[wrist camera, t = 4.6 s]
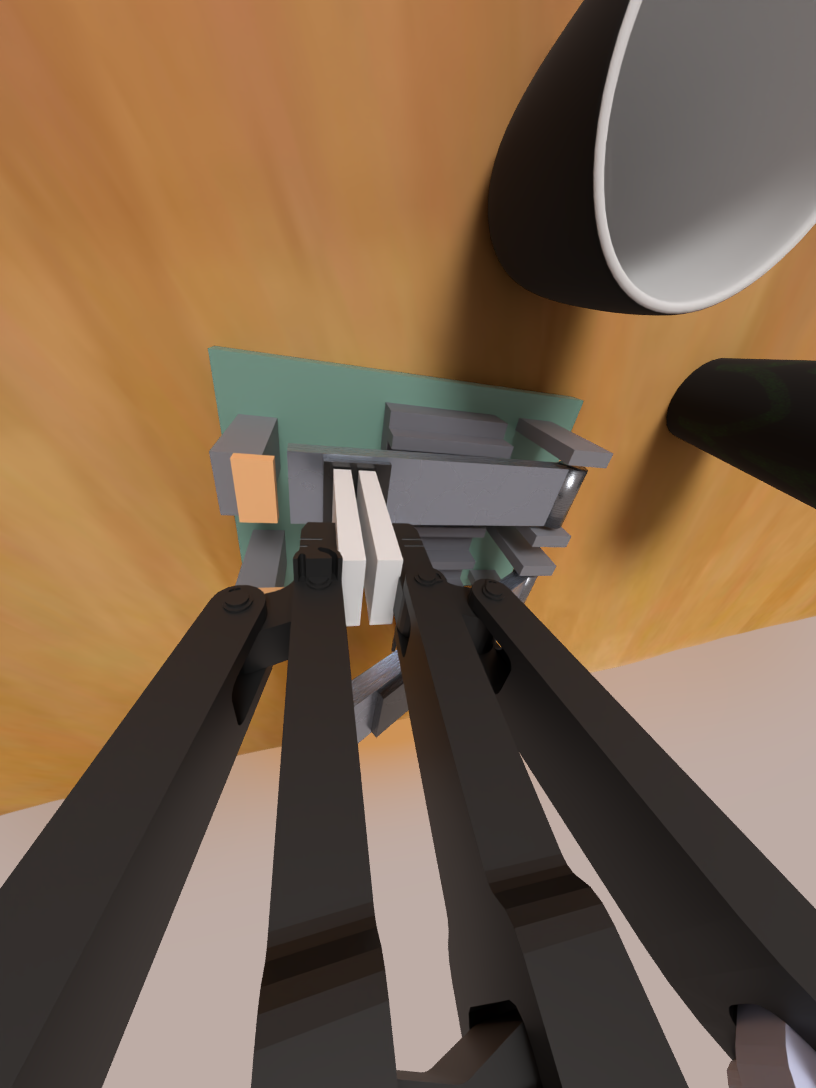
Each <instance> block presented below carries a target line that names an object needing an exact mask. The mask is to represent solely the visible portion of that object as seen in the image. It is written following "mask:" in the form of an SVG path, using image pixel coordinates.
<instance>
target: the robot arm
mask: <svg viewBox="0 0 816 1088" xmlns="http://www.w3.org/2000/svg"><path fill="white" fill-rule="evenodd" d="M293 574H294V580H293V582H291V583H290V584H289V585H288V586H286V587H284V588H282V589H280V590H277V591H273V592H269V593H265V594H264V592H263V591H261V590H260V589H259V588H257V587H254V586H250V585H236V586H232V587H228V588H226V589H224V590H222V591H220V592H218V593H217V594H216V595H215V596H214V597H213V598H212V599H211V600H210V601H209V602H208V604H207V605H206V607H205V608H204V609H203V611H202V612H201V613H200V615H199V616H198V618H197V619H196V620H195V622H194V623H193V624H192V626H191V627H190V629H189V630H188V631H187V633H186V634H185V635H184V637H183V638H182V640H181V641H180V642H179V644H178V645H177V646H176V648H175V649H174V651H173V652H172V653H171V655H170V656H169V657H168V659H167V660H166V662H165V663H164V664H163V666H162V667H161V668H160V670H159V671H158V673H157V674H156V675H155V677H154V678H153V679H152V681H151V682H150V684H149V685H148V686H147V688H146V689H145V690H144V692H143V693H142V695H141V696H140V697H139V699H138V700H137V701H136V703H135V704H134V706H133V707H132V708H131V710H130V711H129V712H128V714H127V715H126V717H125V718H124V719H123V721H122V722H121V723H120V725H119V726H118V728H117V729H116V730H115V732H114V733H113V734H112V736H111V737H110V739H109V740H108V741H107V743H106V744H105V745H104V747H103V748H102V750H101V751H100V752H99V754H98V755H97V756H96V758H95V759H94V761H93V762H92V763H91V765H90V766H89V767H88V769H87V770H86V772H85V773H84V774H83V776H82V777H81V778H80V780H79V781H78V783H77V784H76V785H75V787H74V788H73V789H72V791H71V792H70V794H69V795H68V796H67V798H66V799H65V800H64V802H63V803H62V805H61V806H60V807H59V809H58V810H57V811H56V813H55V814H54V816H53V817H52V818H51V820H50V821H49V823H48V824H47V825H46V827H45V828H44V829H43V831H42V832H41V833H40V835H39V836H38V837H37V839H36V840H35V842H34V843H33V844H32V846H31V847H30V849H29V850H28V851H27V853H26V854H25V855H24V857H23V858H22V860H21V861H20V862H19V864H18V865H17V866H16V868H15V869H14V871H13V872H12V873H11V875H10V876H9V877H8V879H7V880H6V882H5V883H4V884H3V886H2V887H1V888H0V1088H102V1085H103V1083H104V1081H105V1078H106V1076H107V1073H108V1071H109V1068H110V1066H111V1063H112V1061H113V1058H114V1056H115V1053H116V1051H117V1048H118V1046H119V1044H120V1041H121V1039H122V1036H123V1034H124V1031H125V1029H126V1026H127V1024H128V1022H129V1019H130V1017H131V1014H132V1012H133V1009H134V1007H135V1004H136V1002H137V999H138V997H139V994H140V992H141V990H142V987H143V985H144V982H145V980H146V977H147V975H148V972H149V970H150V967H151V965H152V963H153V960H154V958H155V955H156V953H157V950H158V948H159V945H160V943H161V940H162V938H163V935H164V933H165V931H166V928H167V926H168V923H169V921H170V918H171V916H172V913H173V911H174V908H175V906H176V903H177V901H178V898H179V896H180V894H181V891H182V889H183V886H184V884H185V881H186V879H187V876H188V874H189V871H190V869H191V867H192V864H193V862H194V859H195V857H196V854H197V852H198V849H199V847H200V844H201V842H202V839H203V837H204V835H205V832H206V830H207V827H208V825H209V822H210V820H211V817H212V815H213V812H214V810H215V808H216V805H217V803H218V800H219V798H220V795H221V793H222V790H223V788H224V785H225V783H226V780H227V778H228V775H229V773H230V771H231V768H232V766H233V763H234V761H235V758H236V756H237V753H238V751H239V748H240V746H241V744H242V741H243V739H244V736H245V734H246V731H247V729H248V726H249V724H250V721H251V719H252V717H253V714H254V712H255V709H256V707H257V704H258V702H259V699H260V697H261V694H262V692H263V689H264V687H265V685H266V682H267V680H268V677H269V675H270V672H271V670H272V666H273V665H275V664H277V663H280V662H283V661H286V660H288V670H287V683H286V697H285V710H284V724H283V738H282V752H281V765H280V778H279V792H278V806H277V819H276V833H275V846H274V860H273V875H272V888H271V901H270V915H269V928H268V941H267V951H266V960H265V966H264V972H263V978H262V983H261V989H260V997H259V1005H258V1015H257V1024H256V1035H255V1046H254V1057H253V1069H252V1070H253V1071H252V1083H251V1088H689V1087H688V1085H687V1083H686V1081H685V1079H684V1076H683V1074H682V1072H681V1070H680V1068H679V1065H678V1063H677V1061H676V1059H675V1057H674V1054H673V1052H672V1050H671V1048H670V1046H669V1044H668V1041H667V1039H666V1038H665V1035H664V1033H663V1030H662V1028H661V1026H660V1024H659V1022H658V1019H657V1017H656V1015H655V1013H654V1011H653V1008H652V1006H651V1005H650V1002H649V1000H648V998H647V995H646V993H645V991H644V989H643V987H642V984H641V982H640V980H639V978H638V976H637V973H636V971H635V969H634V967H633V965H632V962H631V960H630V958H629V956H628V954H627V952H626V949H625V947H624V945H623V943H622V941H621V938H620V936H619V934H618V932H617V930H616V927H615V925H614V923H613V922H612V920H611V918H610V916H609V914H608V912H607V910H606V909H605V907H604V905H603V903H602V902H601V900H600V899H599V898H598V896H597V895H596V894H595V893H594V891H593V890H592V888H591V887H590V886H589V885H588V884H586V883H585V882H584V881H583V880H581V879H580V878H579V877H577V876H576V875H575V874H574V873H573V872H572V871H571V869H570V868H569V866H568V865H567V863H566V861H565V860H564V858H563V855H562V853H561V851H560V849H559V847H558V844H557V842H556V839H555V837H554V834H553V832H552V830H551V827H550V825H549V822H548V820H547V818H546V815H545V813H544V811H543V808H542V806H541V804H540V801H539V799H538V796H537V794H536V792H535V789H534V787H533V784H532V782H531V780H530V777H529V775H528V773H527V770H526V768H525V765H524V763H523V760H522V758H521V756H522V757H523V759H524V760H525V762H526V763H527V765H528V767H529V768H530V770H531V771H532V773H533V774H534V776H535V777H536V779H537V781H538V782H539V784H540V785H541V787H542V788H543V790H544V791H545V793H546V794H547V796H548V798H549V799H550V801H551V802H552V804H553V805H554V807H555V808H556V810H557V812H558V813H559V815H560V816H561V818H562V819H563V821H564V823H565V824H566V826H567V827H568V829H569V830H570V832H571V833H572V835H573V837H574V838H575V839H576V841H577V843H578V844H579V846H580V847H581V849H582V851H583V852H584V854H585V855H586V857H587V858H588V860H589V861H590V863H591V865H592V866H593V868H594V869H595V871H596V872H597V874H598V876H599V877H600V879H601V880H602V882H603V883H604V885H605V886H606V888H607V889H608V891H609V893H610V894H611V896H612V897H613V899H614V900H615V902H616V904H617V905H618V907H619V908H620V910H621V911H622V913H623V914H624V916H625V918H626V919H627V921H628V922H629V924H630V925H631V927H632V929H633V930H634V932H635V933H636V935H637V936H638V938H639V939H640V941H641V942H642V944H643V945H644V947H645V948H646V950H647V951H648V953H649V954H650V956H651V957H652V959H653V960H654V962H655V963H656V964H657V966H658V967H659V968H660V970H661V972H662V973H663V975H664V976H665V978H666V979H667V981H668V982H669V983H670V985H671V986H672V987H673V988H674V990H675V991H676V992H677V993H678V995H679V996H680V998H681V999H682V1000H683V1001H684V1003H685V1004H686V1005H687V1007H688V1008H689V1009H690V1010H691V1012H692V1013H693V1014H694V1016H695V1017H696V1018H697V1019H698V1021H699V1022H700V1023H701V1024H702V1026H703V1027H704V1028H705V1029H706V1030H707V1031H708V1033H709V1034H710V1035H711V1036H712V1037H713V1038H714V1039H715V1041H716V1042H717V1043H718V1044H719V1045H720V1046H721V1047H722V1049H723V1050H724V1051H725V1052H726V1053H727V1054H728V1056H729V1057H730V1058H731V1059H732V1060H733V1061H731V1062H730V1064H729V1067H728V1069H727V1075H728V1085H729V1088H816V909H815V908H814V907H813V906H812V905H811V904H810V903H809V902H808V901H807V900H806V899H805V898H804V896H803V895H802V894H801V893H800V892H799V891H798V890H797V889H796V888H795V887H794V886H793V885H792V884H791V883H790V882H789V881H788V880H787V879H786V878H785V876H784V875H783V874H782V873H781V872H780V871H779V870H778V869H777V868H776V867H775V866H774V865H773V864H772V863H771V862H770V861H769V860H768V859H767V858H766V857H765V856H764V855H763V853H762V852H761V851H760V850H759V849H758V848H757V847H756V846H755V845H754V844H753V843H752V842H751V841H750V840H749V839H748V838H747V837H746V836H745V835H744V834H743V833H742V831H741V830H740V829H739V828H738V827H737V826H736V825H735V824H734V823H733V822H732V821H731V820H730V819H729V818H728V817H727V816H726V815H725V814H724V813H723V812H722V811H721V810H720V808H718V806H717V805H716V804H715V803H714V802H713V801H712V800H711V799H710V798H709V797H708V796H707V795H706V794H705V793H704V792H703V791H702V790H701V789H700V788H699V787H698V785H697V784H696V783H695V782H694V781H693V780H692V779H691V778H690V777H689V776H688V775H687V774H686V773H685V772H684V771H683V770H682V769H681V768H680V767H679V766H678V765H677V763H676V762H675V761H674V760H673V759H672V758H671V757H670V756H669V755H668V754H667V753H666V752H665V751H664V750H663V749H662V748H661V747H660V746H659V745H658V744H657V743H656V742H655V741H654V740H653V738H652V737H651V736H650V735H649V734H648V733H647V732H646V731H645V730H644V729H643V728H642V727H641V726H640V725H639V724H638V723H637V722H636V721H635V720H634V718H633V717H632V716H631V715H630V714H629V713H628V712H627V711H626V710H625V709H624V708H623V707H622V706H621V705H620V704H619V703H618V702H617V701H616V700H615V699H614V698H613V697H612V695H610V693H609V692H608V691H607V690H606V689H605V688H604V687H603V686H602V685H601V684H600V683H599V682H598V681H597V680H596V679H595V678H594V677H593V676H592V675H591V674H590V672H589V671H588V670H587V669H586V668H585V667H584V666H583V665H582V664H581V663H580V662H579V661H578V660H577V659H576V658H575V657H574V656H573V655H572V654H571V653H570V652H569V651H568V649H567V648H566V647H565V646H564V645H563V644H562V643H561V642H560V641H559V640H558V639H557V638H556V637H555V636H554V635H553V634H552V633H551V632H550V631H549V630H548V629H547V627H546V626H545V625H544V624H543V623H542V622H541V621H540V620H539V619H538V618H537V617H536V616H535V615H534V614H533V613H532V612H531V611H530V610H529V609H528V608H527V607H526V606H525V604H524V603H523V602H522V601H521V600H520V599H519V598H518V597H517V596H516V595H515V594H514V593H513V592H512V591H511V590H510V589H509V588H508V587H507V586H505V585H504V584H503V583H500V582H498V581H496V580H492V579H479V580H477V581H475V582H474V584H473V585H472V588H467V587H462V586H457V585H454V584H450V583H448V582H447V579H446V578H445V576H444V575H443V574H442V573H441V572H440V571H438V570H437V569H434V568H433V567H432V564H431V562H430V559H429V557H428V555H427V552H426V550H425V547H423V543H422V540H421V538H420V535H419V533H418V531H417V530H416V529H415V528H414V527H413V526H412V525H411V524H410V523H391V520H390V516H389V513H388V510H387V507H386V504H385V500H384V497H383V494H382V491H381V488H380V484H379V481H378V478H377V475H376V472H375V471H360V470H359V472H358V486H357V500H356V497H355V491H354V485H353V479H352V473H351V470H345V469H333V505H332V523H331V522H307V524H306V525H305V526H304V527H303V528H302V529H301V537H300V548H299V550H298V551H297V552H296V553H295V555H294V557H293ZM363 587H364V589H365V596H366V603H367V610H368V617H369V624H370V625H379V624H392V620H393V615H394V616H395V620H396V627H395V633H394V638H393V643H392V651H395V648H396V647H397V652H398V657H399V663H400V668H401V673H402V678H403V684H404V689H405V694H406V700H407V705H408V710H409V715H410V720H411V726H412V731H413V736H414V742H415V747H416V752H417V758H418V762H419V768H420V773H421V778H422V784H423V789H424V794H425V800H426V805H427V810H428V815H429V821H430V826H431V832H432V837H433V842H434V847H435V853H436V858H437V863H438V868H439V873H440V879H441V884H442V890H443V895H444V900H445V905H446V911H447V917H448V927H449V939H448V950H449V963H450V970H451V977H452V983H453V989H454V994H455V1000H456V1005H457V1011H458V1017H459V1022H460V1028H461V1034H462V1038H461V1039H460V1041H458V1042H457V1043H456V1044H455V1045H454V1047H452V1048H451V1050H449V1051H448V1052H447V1053H446V1054H445V1056H443V1057H442V1058H441V1059H440V1061H438V1062H437V1063H436V1064H435V1065H434V1067H433V1068H431V1069H430V1070H429V1071H427V1072H422V1073H420V1072H410V1071H400V1070H396V1063H395V1054H394V1045H393V1035H392V1026H391V1018H390V1017H391V1016H390V1008H389V998H388V990H387V982H386V974H385V966H384V960H383V954H382V948H381V943H380V939H379V935H378V931H377V926H376V920H375V913H374V906H373V905H374V904H373V895H372V884H371V875H370V865H369V855H368V844H367V834H366V823H365V814H364V804H363V793H362V782H361V772H360V763H359V752H358V742H357V731H356V721H355V711H354V701H353V691H352V680H351V670H350V660H349V650H348V640H347V630H346V626H360V617H361V607H362V597H363ZM496 641H497V642H498V643H499V644H500V646H501V647H500V646H499V645H498V644H497V642H496ZM520 754H521V756H520Z"/></svg>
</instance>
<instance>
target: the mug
mask: <svg viewBox="0 0 816 1088" xmlns="http://www.w3.org/2000/svg"><path fill="white" fill-rule="evenodd" d="M488 222H489V230H490V236H491V240H492V244H493V247H494V250H495V253H496V255H497V257H498V260H499V261H500V263H501V265H502V267H503V268H504V270H505V271H506V272H507V274H508V275H509V276H510V277H511V278H512V279H513V280H514V281H515V282H516V283H518V284H519V285H521V286H522V287H524V288H525V289H527V290H529V291H531V292H533V293H534V294H537V295H539V296H542V297H544V298H547V299H550V300H553V301H557V302H560V303H564V304H568V305H572V306H577V307H583V308H588V309H594V310H600V311H606V312H614V313H623V314H635V315H677V314H685V313H690V312H694V311H699V310H702V309H705V308H708V307H711V306H713V305H716V304H718V303H720V302H722V301H724V300H726V299H728V298H730V297H732V296H733V295H735V294H737V293H738V292H740V291H742V290H743V289H745V288H746V287H748V286H749V285H751V284H752V283H753V282H755V281H756V280H757V279H758V278H760V277H761V276H762V275H764V274H765V273H766V272H767V271H768V270H770V269H771V268H772V267H773V266H774V265H775V264H777V263H778V262H779V261H780V260H781V259H782V258H783V257H784V256H785V255H786V254H787V253H788V252H789V251H790V250H791V249H792V248H793V247H794V246H795V245H796V244H797V243H798V242H799V241H800V240H801V239H802V238H803V237H804V236H805V235H806V234H807V232H808V231H809V230H810V229H811V228H812V227H813V225H814V224H815V223H816V0H584V1H583V3H582V4H581V5H580V7H579V8H578V10H577V11H576V13H575V14H574V16H573V17H572V19H571V20H570V21H569V23H568V24H567V26H566V27H565V29H564V30H563V32H562V33H561V35H560V36H559V38H558V39H557V41H556V42H555V44H554V45H553V47H552V48H551V50H550V52H549V53H548V55H547V56H546V58H545V59H544V61H543V63H542V64H541V66H540V67H539V69H538V71H537V72H536V74H535V76H534V77H533V79H532V81H531V83H530V84H529V86H528V88H527V90H526V91H525V93H524V95H523V97H522V98H521V100H520V102H519V104H518V106H517V108H516V110H515V112H514V114H513V116H512V118H511V120H510V122H509V124H508V127H507V129H506V131H505V134H504V136H503V139H502V141H501V144H500V146H499V149H498V153H497V156H496V159H495V162H494V166H493V170H492V175H491V180H490V187H489V196H488Z"/></svg>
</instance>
